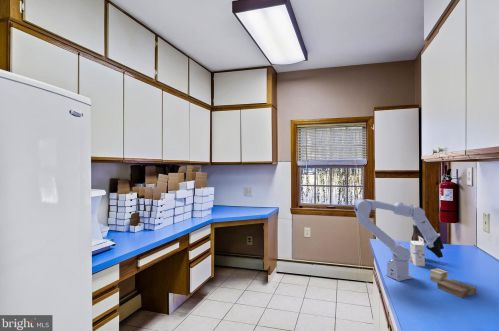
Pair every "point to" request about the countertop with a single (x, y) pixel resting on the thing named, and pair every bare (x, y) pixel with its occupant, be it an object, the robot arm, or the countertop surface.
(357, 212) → the robot arm
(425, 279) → the countertop surface
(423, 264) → the ink cartridge box
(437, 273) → the maple cube
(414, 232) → the sauce bottle
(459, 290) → the walnut block
